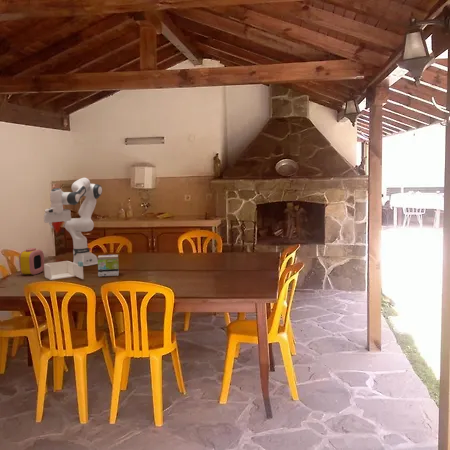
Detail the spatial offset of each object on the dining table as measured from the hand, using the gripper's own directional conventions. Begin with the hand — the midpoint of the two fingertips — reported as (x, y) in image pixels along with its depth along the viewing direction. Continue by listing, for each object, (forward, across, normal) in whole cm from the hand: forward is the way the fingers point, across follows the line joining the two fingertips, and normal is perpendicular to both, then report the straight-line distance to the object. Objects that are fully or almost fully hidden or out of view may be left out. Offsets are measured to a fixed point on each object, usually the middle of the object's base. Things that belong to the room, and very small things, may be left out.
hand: (58, 227), depth 380 cm
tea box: (+35, -24, +35) cm, 55 cm away
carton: (+35, +6, +15) cm, 39 cm away
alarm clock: (+35, +18, -12) cm, 41 cm away
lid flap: (+34, -2, +31) cm, 46 cm away
